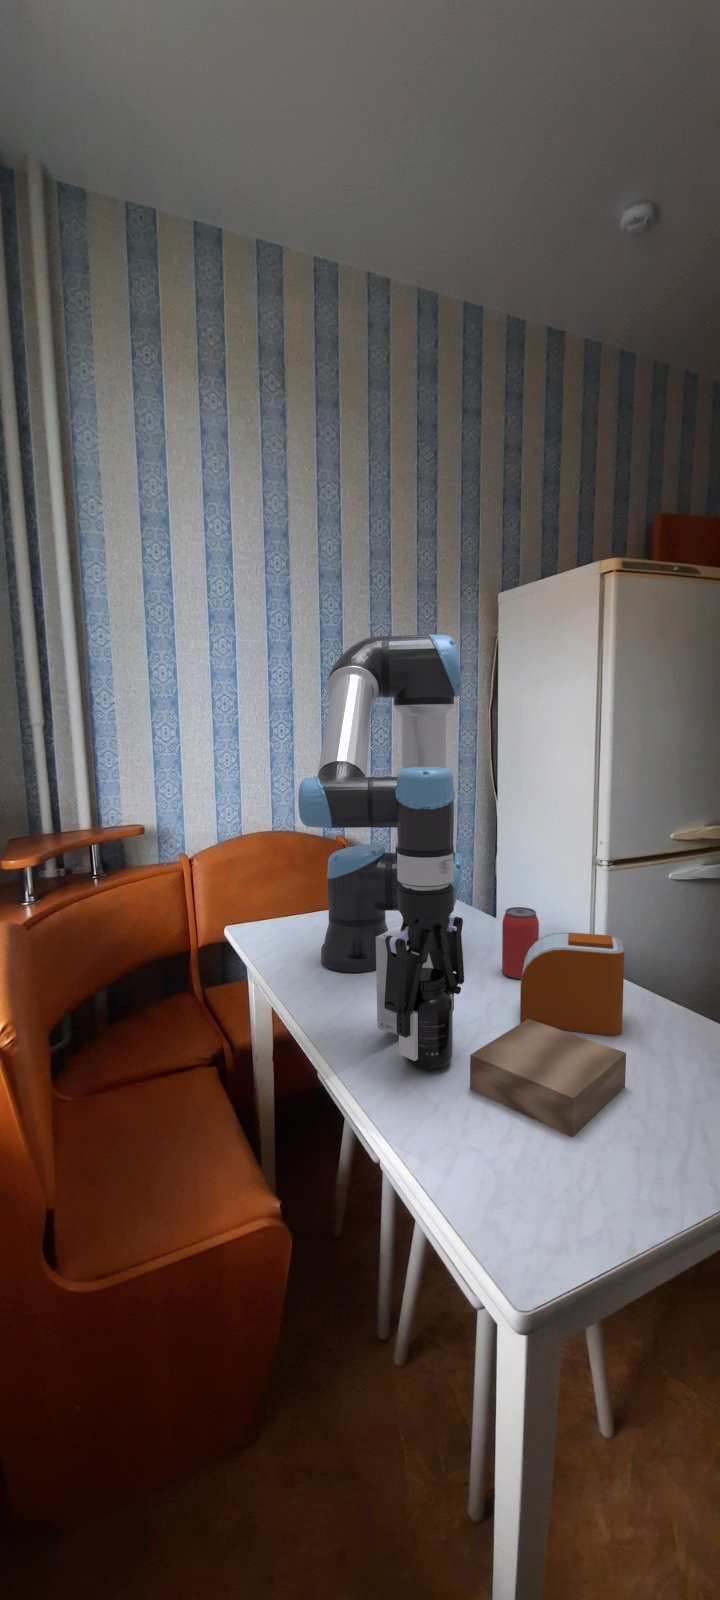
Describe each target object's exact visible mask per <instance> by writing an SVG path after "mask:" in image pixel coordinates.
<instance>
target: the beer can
mask: <svg viewBox="0 0 720 1600" xmlns="http://www.w3.org/2000/svg"><path fill="white" fill-rule="evenodd" d="M504 912H505V913H504V915H503V918H502V922H501V923H502V929H501V931H502V933H501V935H502V937H501V939H502V942H501V946H502V947H501V949H502V951H501V953H502V954H501V955H502V956H501V957H502V960H501V964H502V966H501V971H502V972H503V974H504V975H505V976H507V977H509V978H511V979H518V980H521V979H522V973H523V967H524V961H525V957H526V955H527V953H528V951H529V949H530V948H531V946H532V945H533V944H534V943H535V942H536V941H538V940H539V939H540V938H539V937H540V932H539V931H540V921H539V918H538V917H537V911H536V910H535V909H533V908H530V907H524V906H523V907H522V906H514V907H513V906H512V907H508V908H507V909H505V911H504Z"/></svg>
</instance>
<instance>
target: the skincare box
mask: <svg viewBox="0 0 720 1600" xmlns="http://www.w3.org/2000/svg"><path fill="white" fill-rule="evenodd" d="M401 926H402V924H401V925H398V926H397V927H394V928H391V929H388V931H387V932H385V933H383V934H381V935H379V936H377V937H376V970H375V971H376V972H375V973H376V1015H377V1016H376V1017H377V1019H376V1025H377V1030H380V1031H384V1032H387V1033H391V1034H394V1035H396V1036H399V1035H398V1034H397V1015H396V1013H394V1012H392V1011H389V1010H387V1009H385V1007H384V1002H385V986H386V970H387V954H388V953H387V948H386V943H385V939H386V937H387V936H393V937H394V936H396V935H397V934H399V933H400V932H401ZM411 952H412V953H413V954H416V955H419V953H415V952H413V951H411ZM422 968H433V966H432V962H431V958H430V955H429V954H428V958H427V962H426V963H424V964H423V967H422Z"/></svg>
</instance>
